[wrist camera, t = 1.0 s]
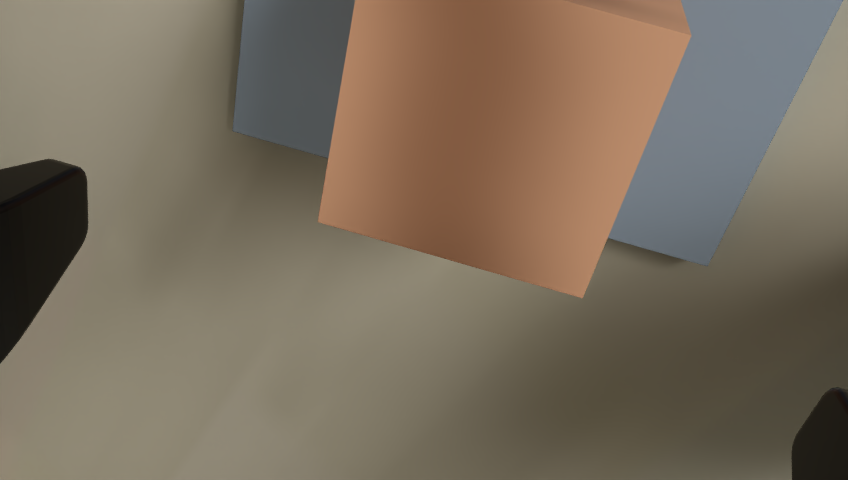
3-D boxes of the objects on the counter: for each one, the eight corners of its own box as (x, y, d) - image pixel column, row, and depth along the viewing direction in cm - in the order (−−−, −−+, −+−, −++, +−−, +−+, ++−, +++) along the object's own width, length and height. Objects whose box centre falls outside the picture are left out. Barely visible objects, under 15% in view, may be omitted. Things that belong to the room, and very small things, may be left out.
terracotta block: (668, -43, 16) (691, 35, 12) (586, 173, 19) (582, 298, 15) (424, -109, 16) (364, -55, 12) (380, 115, 19) (317, 221, 15)
